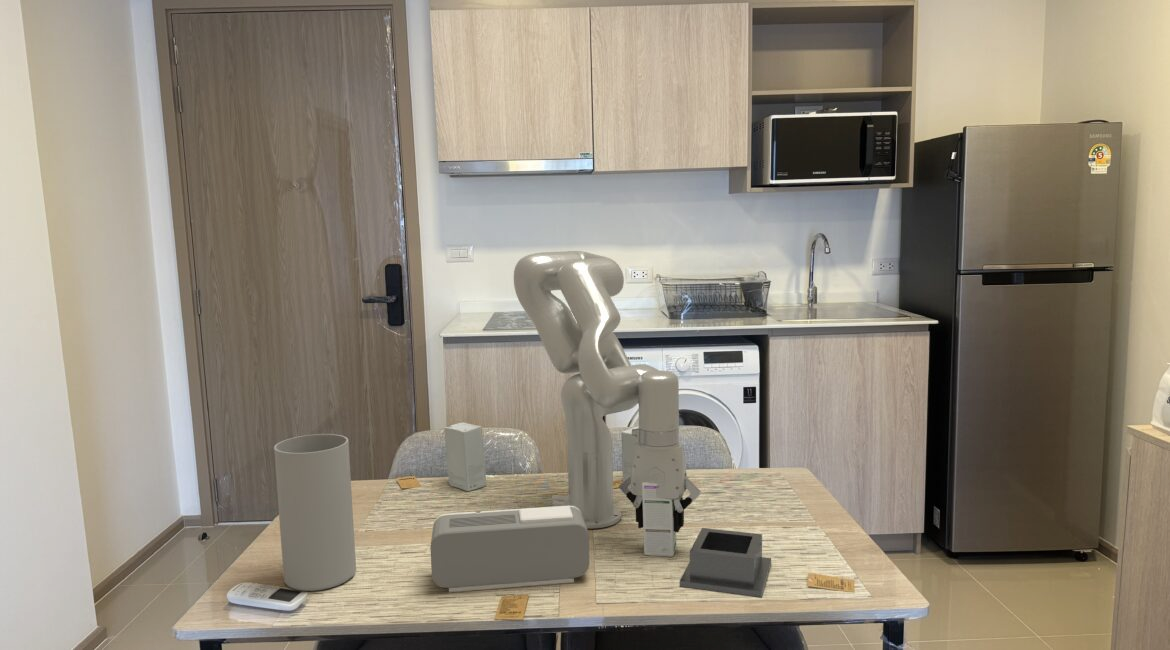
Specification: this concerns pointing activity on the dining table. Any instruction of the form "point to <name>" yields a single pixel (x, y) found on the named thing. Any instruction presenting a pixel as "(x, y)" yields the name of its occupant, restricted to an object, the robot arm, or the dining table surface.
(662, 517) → the syrup box
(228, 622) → the dining table surface
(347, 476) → the cylinder vase
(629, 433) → the supplement box
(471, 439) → the skincare box
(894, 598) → the dining table surface
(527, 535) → the grey rounded block
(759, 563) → the socket
